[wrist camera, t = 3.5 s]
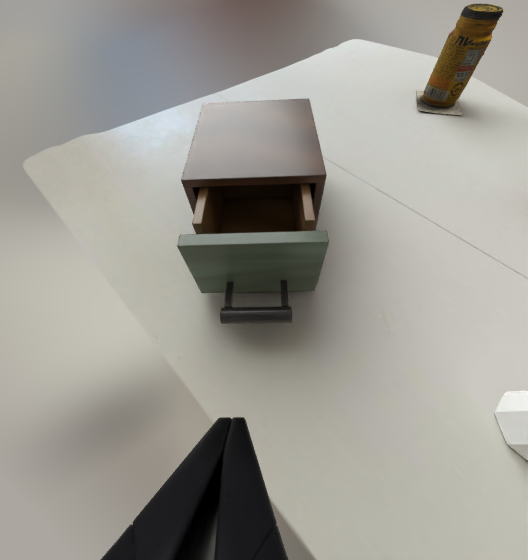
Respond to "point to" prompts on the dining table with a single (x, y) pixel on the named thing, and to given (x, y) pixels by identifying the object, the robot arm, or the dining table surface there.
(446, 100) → the condiment
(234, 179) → the cabinet
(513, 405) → the salt shaker
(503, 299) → the dining table surface
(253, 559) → the robot arm
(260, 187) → the drawer
